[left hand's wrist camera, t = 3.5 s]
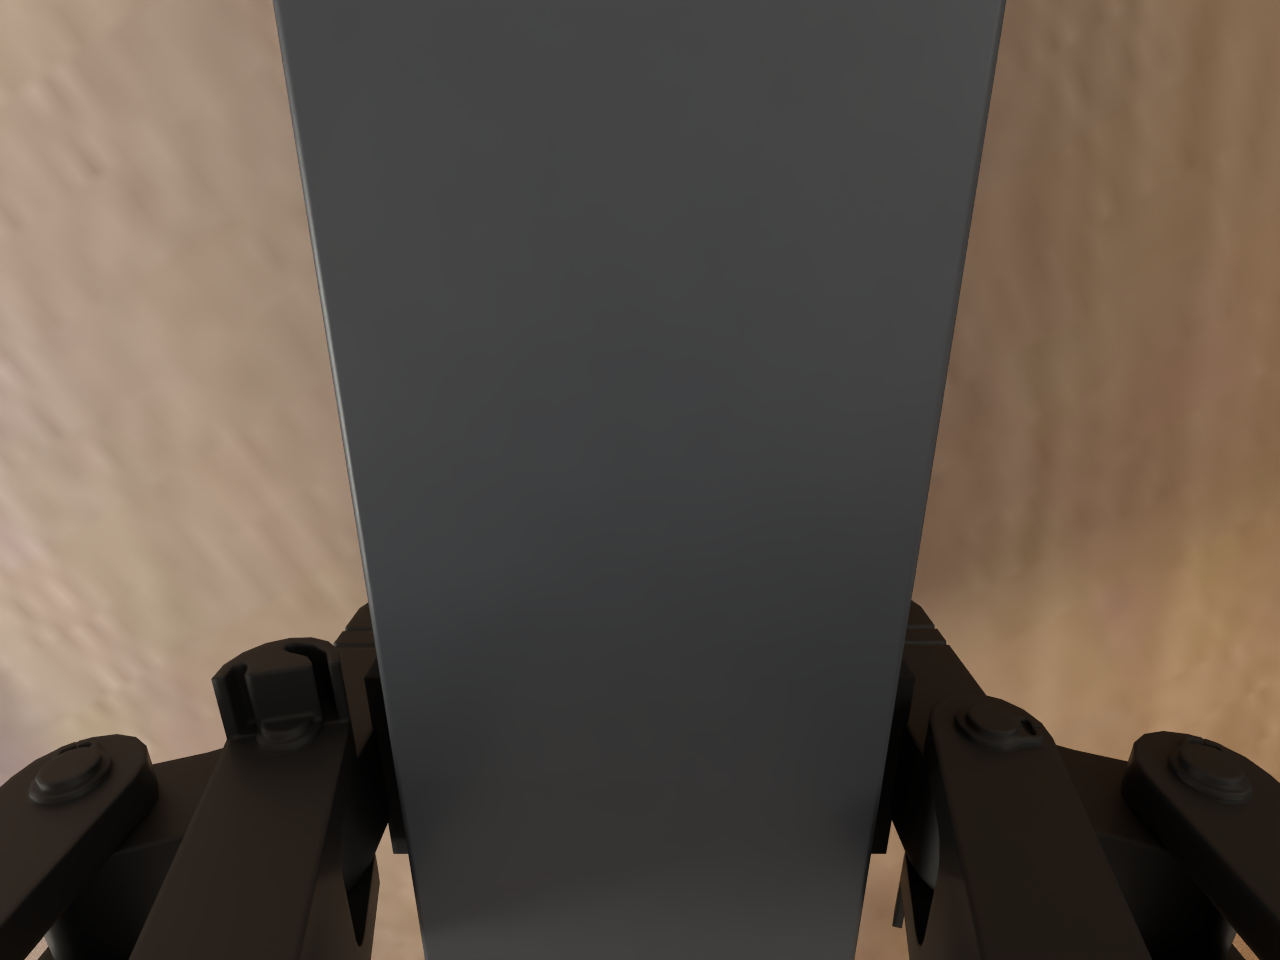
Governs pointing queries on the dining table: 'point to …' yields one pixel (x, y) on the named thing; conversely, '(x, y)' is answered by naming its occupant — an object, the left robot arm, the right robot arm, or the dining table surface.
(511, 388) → the bar
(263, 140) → the dining table surface
